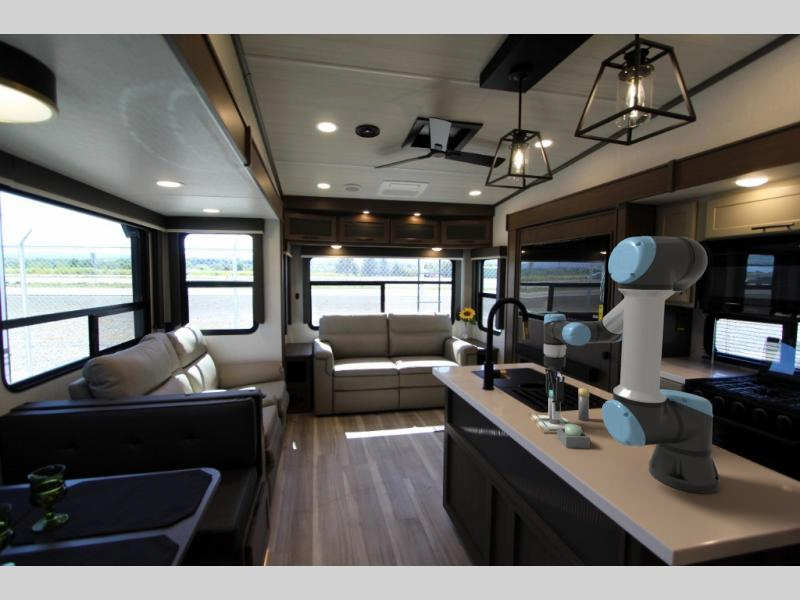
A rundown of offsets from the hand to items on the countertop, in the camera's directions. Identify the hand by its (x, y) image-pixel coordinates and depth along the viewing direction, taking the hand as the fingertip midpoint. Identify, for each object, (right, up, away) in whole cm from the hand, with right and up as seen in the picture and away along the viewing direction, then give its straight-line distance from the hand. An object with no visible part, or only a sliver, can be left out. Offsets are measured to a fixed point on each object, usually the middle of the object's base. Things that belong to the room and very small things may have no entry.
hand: (554, 417), depth 134 cm
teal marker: (0, -2, 0) cm, 2 cm away
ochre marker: (+14, -3, +6) cm, 15 cm away
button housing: (0, -4, -15) cm, 16 cm away
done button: (0, -2, -15) cm, 15 cm away
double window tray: (0, -3, +1) cm, 3 cm away
